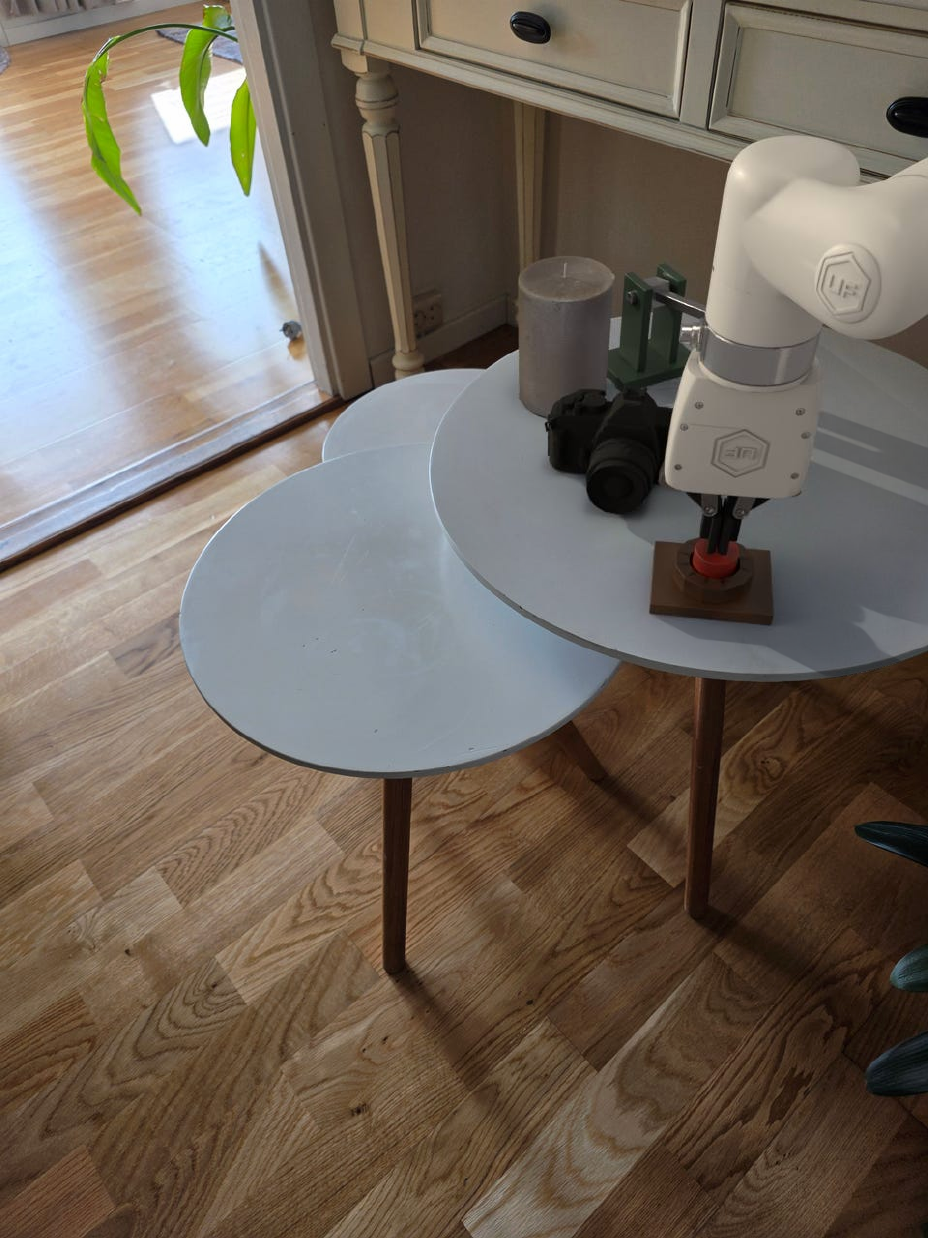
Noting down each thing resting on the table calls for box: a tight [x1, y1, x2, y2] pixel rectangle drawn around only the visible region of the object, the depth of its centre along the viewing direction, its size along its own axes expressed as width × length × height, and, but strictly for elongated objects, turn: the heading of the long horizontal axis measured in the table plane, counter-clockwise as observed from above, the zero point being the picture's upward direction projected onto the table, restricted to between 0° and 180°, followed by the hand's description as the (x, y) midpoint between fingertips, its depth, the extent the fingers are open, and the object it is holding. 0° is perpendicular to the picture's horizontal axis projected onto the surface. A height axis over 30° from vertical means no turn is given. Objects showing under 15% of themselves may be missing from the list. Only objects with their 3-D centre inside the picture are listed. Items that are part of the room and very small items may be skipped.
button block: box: [648, 536, 775, 626], centre depth 75 cm, size 10×8×3 cm
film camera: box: [544, 385, 674, 516], centre depth 83 cm, size 15×10×9 cm, turn 73°
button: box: [693, 539, 739, 579], centre depth 73 cm, size 4×4×2 cm
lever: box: [642, 276, 707, 320], centre depth 88 cm, size 17×6×2 cm, turn 22°
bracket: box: [607, 262, 692, 393], centre depth 96 cm, size 7×10×11 cm
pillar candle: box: [517, 255, 616, 418], centre depth 92 cm, size 10×10×15 cm
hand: (716, 543), depth 72 cm, fingers closed
